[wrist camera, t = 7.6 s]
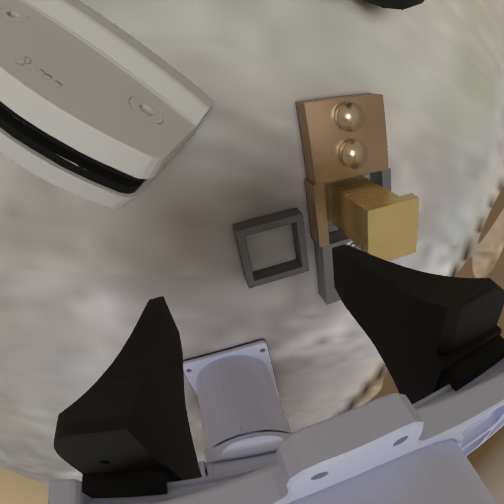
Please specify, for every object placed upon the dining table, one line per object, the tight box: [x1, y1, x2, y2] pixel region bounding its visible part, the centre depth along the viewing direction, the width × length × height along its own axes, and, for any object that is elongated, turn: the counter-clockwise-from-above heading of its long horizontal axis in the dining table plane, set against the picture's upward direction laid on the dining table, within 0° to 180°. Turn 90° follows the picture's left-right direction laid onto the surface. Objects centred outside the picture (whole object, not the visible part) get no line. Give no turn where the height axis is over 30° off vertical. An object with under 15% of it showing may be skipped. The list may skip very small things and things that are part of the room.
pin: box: [324, 175, 419, 261], centre depth 21 cm, size 4×4×7 cm
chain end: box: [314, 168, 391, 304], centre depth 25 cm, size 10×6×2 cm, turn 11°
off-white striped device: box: [0, 0, 214, 209], centre depth 13 cm, size 17×5×10 cm, turn 47°
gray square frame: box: [233, 208, 309, 288], centre depth 24 cm, size 5×5×1 cm
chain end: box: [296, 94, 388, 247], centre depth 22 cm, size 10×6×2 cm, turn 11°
